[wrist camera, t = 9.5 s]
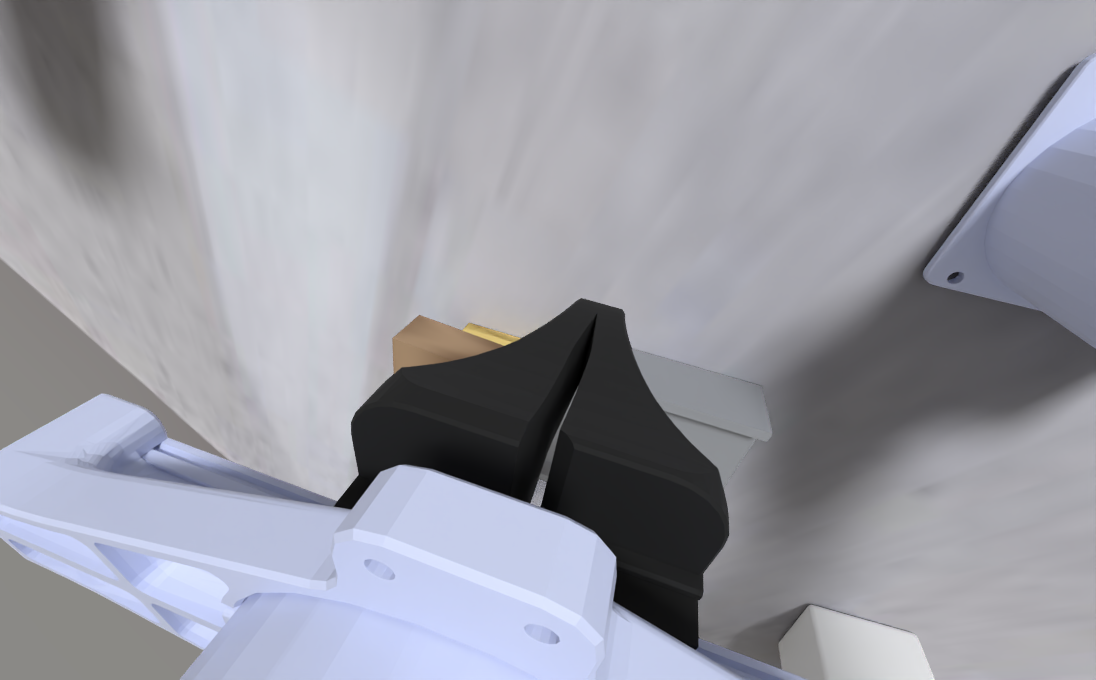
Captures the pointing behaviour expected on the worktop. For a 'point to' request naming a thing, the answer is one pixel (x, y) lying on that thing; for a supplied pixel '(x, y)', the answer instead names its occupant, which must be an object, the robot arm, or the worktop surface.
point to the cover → (435, 344)
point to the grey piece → (702, 411)
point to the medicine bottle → (850, 649)
